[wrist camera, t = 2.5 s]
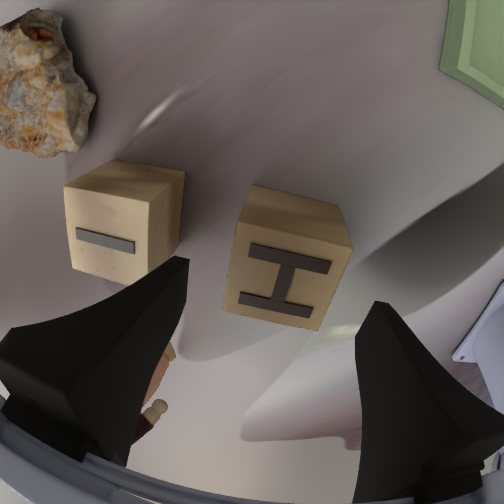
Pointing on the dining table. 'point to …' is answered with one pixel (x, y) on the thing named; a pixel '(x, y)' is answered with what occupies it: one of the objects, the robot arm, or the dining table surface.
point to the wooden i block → (123, 219)
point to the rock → (41, 88)
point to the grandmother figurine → (158, 406)
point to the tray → (476, 46)
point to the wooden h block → (286, 259)
